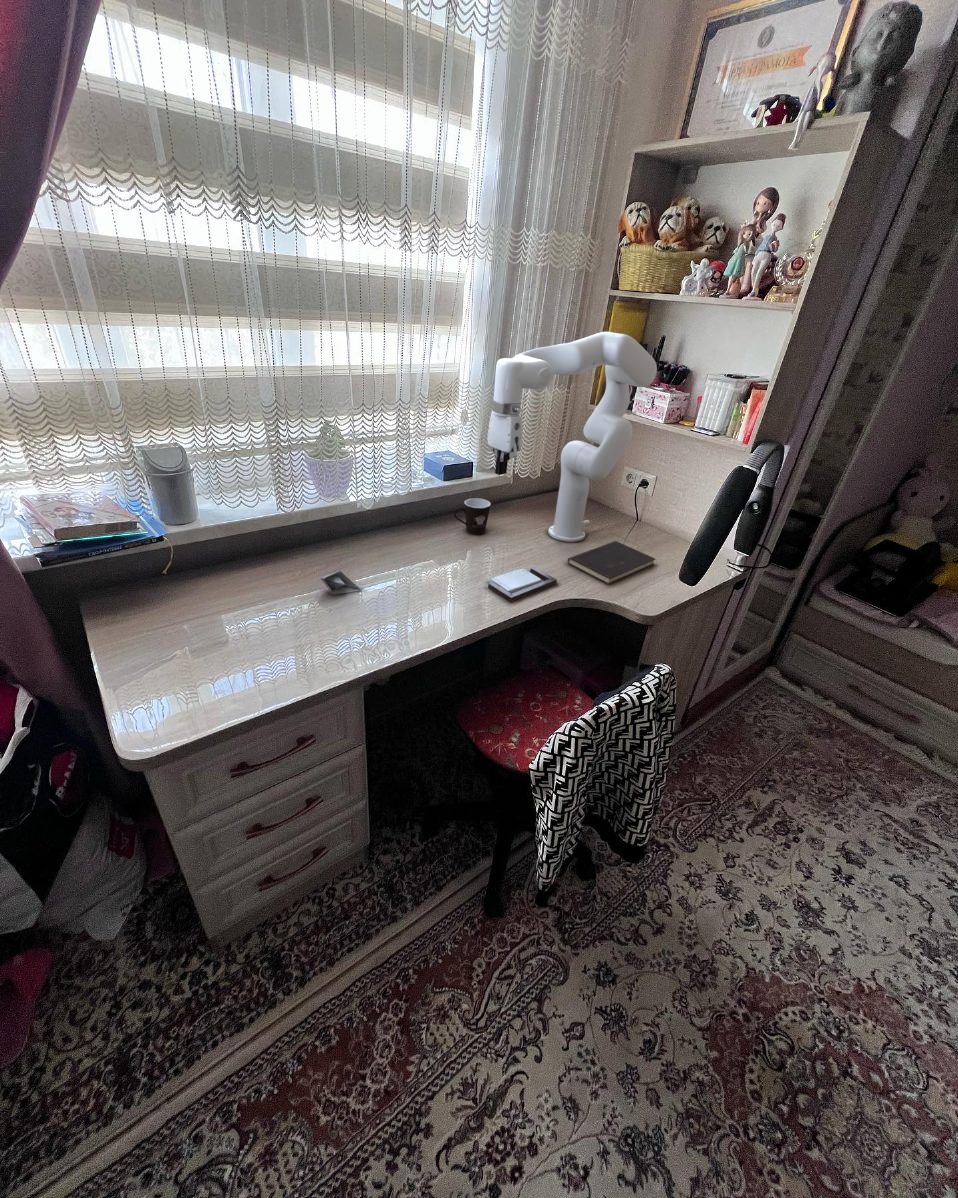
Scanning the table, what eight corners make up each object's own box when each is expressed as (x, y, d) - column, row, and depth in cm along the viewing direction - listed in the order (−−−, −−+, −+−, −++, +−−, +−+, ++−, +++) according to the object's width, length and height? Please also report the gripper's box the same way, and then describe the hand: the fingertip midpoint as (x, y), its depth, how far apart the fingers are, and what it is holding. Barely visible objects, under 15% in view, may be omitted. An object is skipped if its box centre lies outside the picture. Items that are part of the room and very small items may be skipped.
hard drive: (522, 567, 155) (489, 577, 148) (541, 579, 150) (508, 590, 143) (522, 572, 156) (489, 582, 149) (541, 584, 151) (507, 595, 144)
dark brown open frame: (533, 571, 157) (534, 566, 156) (556, 584, 151) (557, 579, 151) (487, 588, 147) (488, 583, 146) (510, 602, 141) (511, 597, 140)
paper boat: (351, 575, 145) (371, 579, 139) (345, 597, 145) (365, 602, 139) (313, 563, 136) (333, 567, 130) (307, 587, 136) (326, 592, 130)
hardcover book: (653, 565, 166) (655, 558, 165) (608, 585, 153) (610, 578, 152) (613, 546, 176) (614, 540, 175) (567, 563, 163) (568, 556, 162)
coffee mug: (489, 527, 183) (491, 499, 178) (487, 537, 176) (489, 509, 170) (456, 523, 184) (457, 496, 178) (452, 533, 176) (453, 505, 171)
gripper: (535, 412, 142) (527, 478, 152) (498, 401, 152) (493, 464, 161) (515, 415, 138) (508, 483, 147) (478, 403, 147) (474, 468, 157)
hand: (500, 473), depth 154 cm, fingers closed
